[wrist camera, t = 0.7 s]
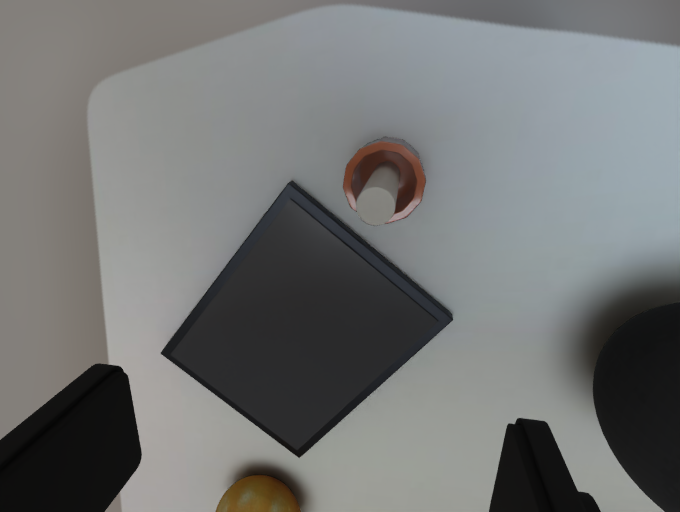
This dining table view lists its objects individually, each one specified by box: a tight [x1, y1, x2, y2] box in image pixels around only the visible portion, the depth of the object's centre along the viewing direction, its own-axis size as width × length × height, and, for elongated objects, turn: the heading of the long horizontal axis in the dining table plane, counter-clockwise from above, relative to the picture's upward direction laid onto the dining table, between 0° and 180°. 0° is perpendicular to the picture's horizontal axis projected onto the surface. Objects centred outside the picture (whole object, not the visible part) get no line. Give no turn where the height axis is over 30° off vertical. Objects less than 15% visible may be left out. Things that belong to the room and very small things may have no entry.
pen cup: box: [343, 137, 426, 224], centre depth 27 cm, size 5×5×5 cm
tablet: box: [161, 181, 453, 458], centre depth 34 cm, size 16×20×1 cm
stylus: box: [356, 161, 400, 225], centre depth 23 cm, size 2×2×11 cm
